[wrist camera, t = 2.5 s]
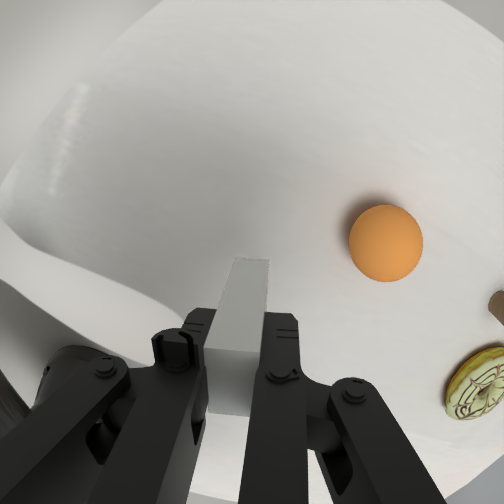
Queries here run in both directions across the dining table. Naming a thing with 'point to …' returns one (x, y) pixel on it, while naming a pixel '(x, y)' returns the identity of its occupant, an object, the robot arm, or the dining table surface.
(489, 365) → the decorated donut
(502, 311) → the post
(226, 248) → the dining table surface
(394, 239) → the ball
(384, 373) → the dining table surface
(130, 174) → the dining table surface
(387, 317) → the dining table surface
